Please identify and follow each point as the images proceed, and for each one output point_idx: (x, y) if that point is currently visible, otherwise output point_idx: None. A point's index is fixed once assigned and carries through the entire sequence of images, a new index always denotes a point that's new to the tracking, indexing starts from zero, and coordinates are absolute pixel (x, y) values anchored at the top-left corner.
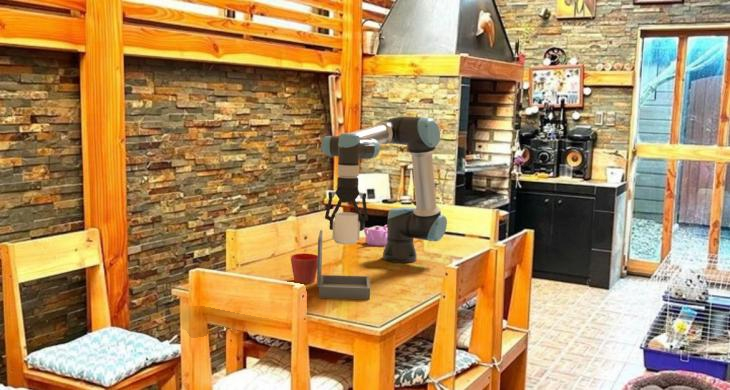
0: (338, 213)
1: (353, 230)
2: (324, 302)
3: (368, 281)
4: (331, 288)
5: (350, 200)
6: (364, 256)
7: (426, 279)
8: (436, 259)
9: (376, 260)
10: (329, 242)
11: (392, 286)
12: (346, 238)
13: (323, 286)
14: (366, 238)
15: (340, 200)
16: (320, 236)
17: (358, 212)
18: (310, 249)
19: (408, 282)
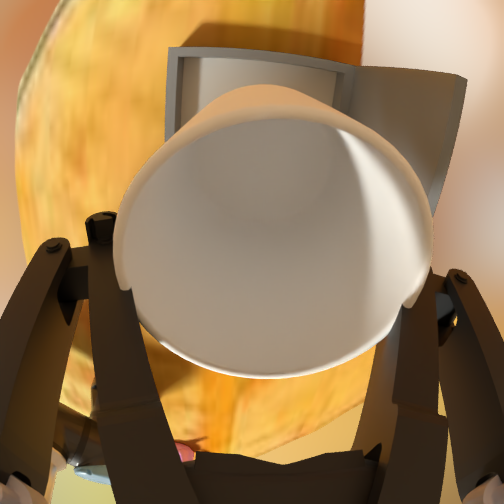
0: (358, 342)
1: (204, 108)
2: (330, 19)
3: (168, 137)
4: (311, 57)
5: (214, 496)
6: (191, 408)
7: None
8: (65, 382)
9: (165, 390)
10: (251, 453)
11: (106, 198)
12: (270, 85)
13: (340, 69)
14: (191, 455)
15: (426, 466)
16: (438, 168)
17: (107, 304)
18: (289, 432)
19: (73, 239)
